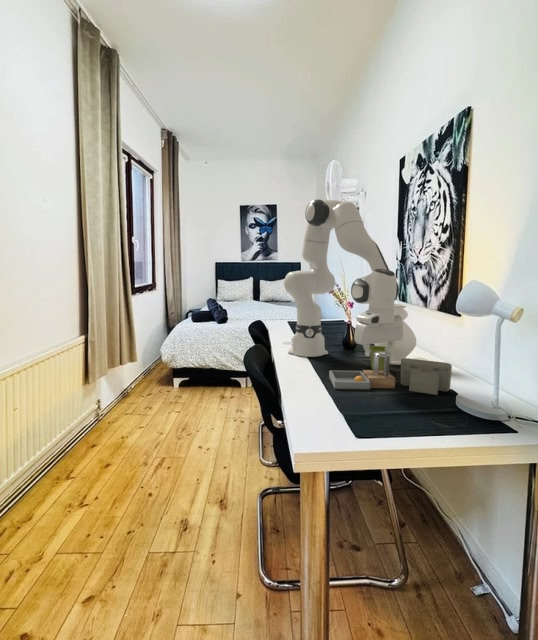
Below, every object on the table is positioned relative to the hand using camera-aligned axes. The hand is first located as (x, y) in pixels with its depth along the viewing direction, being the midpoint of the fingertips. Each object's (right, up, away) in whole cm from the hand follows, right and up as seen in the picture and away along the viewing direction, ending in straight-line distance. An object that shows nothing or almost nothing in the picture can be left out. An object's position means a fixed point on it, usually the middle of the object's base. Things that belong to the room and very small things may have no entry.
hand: (378, 354), depth 136 cm
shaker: (+1, -7, 0) cm, 7 cm away
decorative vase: (+16, -6, +33) cm, 38 cm away
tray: (-10, -10, +1) cm, 15 cm away
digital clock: (+14, -12, -5) cm, 19 cm away
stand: (0, -11, +1) cm, 11 cm away
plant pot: (+6, -8, +20) cm, 22 cm away
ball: (-7, -9, -1) cm, 11 cm away
